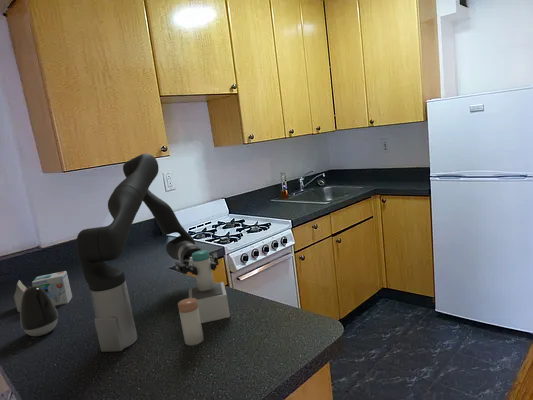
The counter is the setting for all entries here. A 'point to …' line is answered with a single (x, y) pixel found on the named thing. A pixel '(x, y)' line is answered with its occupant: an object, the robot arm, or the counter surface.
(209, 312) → the grey unit
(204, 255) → the teal capped canister
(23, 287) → the sunburst logo carton
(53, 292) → the light bulb box
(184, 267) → the robot arm
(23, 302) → the dark grey rounded pod
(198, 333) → the white spice bottle
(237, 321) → the counter surface
